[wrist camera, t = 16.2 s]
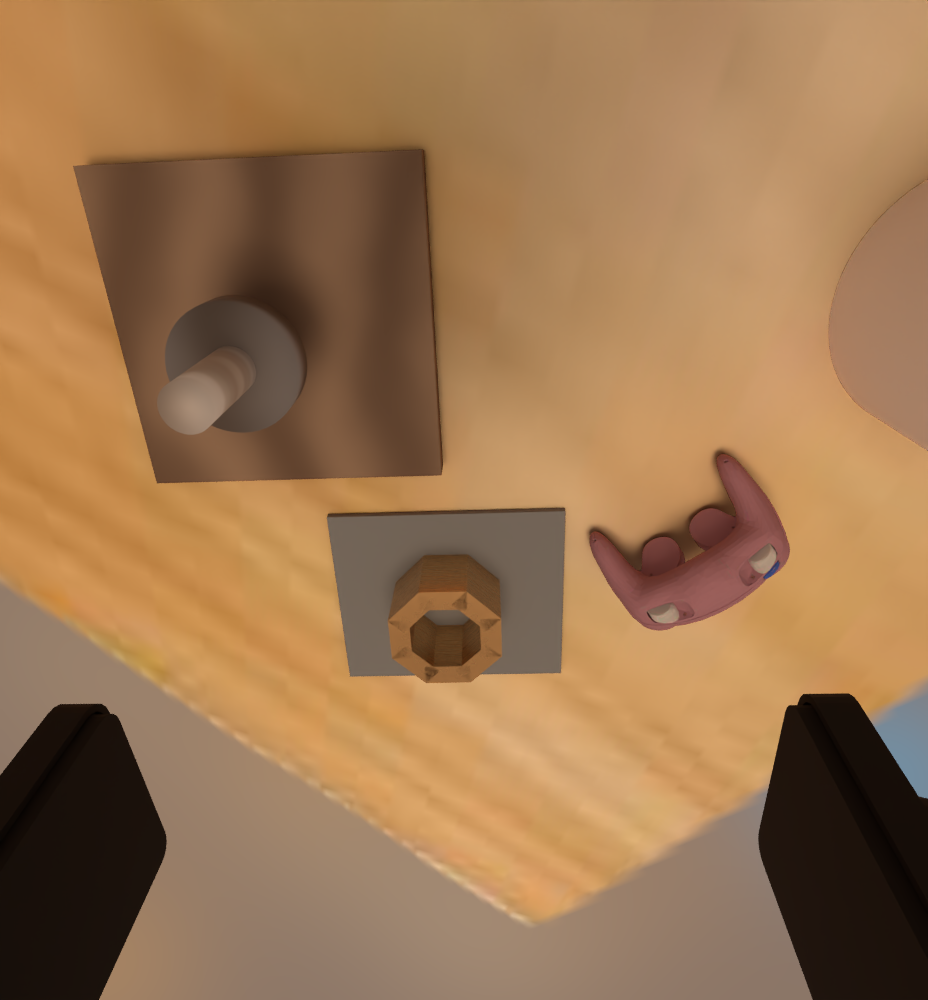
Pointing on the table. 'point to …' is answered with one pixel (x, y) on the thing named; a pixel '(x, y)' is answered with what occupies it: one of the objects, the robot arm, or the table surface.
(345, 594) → the rubber mat
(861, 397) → the canister
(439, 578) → the wooden ring
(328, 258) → the post stand
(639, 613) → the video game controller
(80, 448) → the table surface
